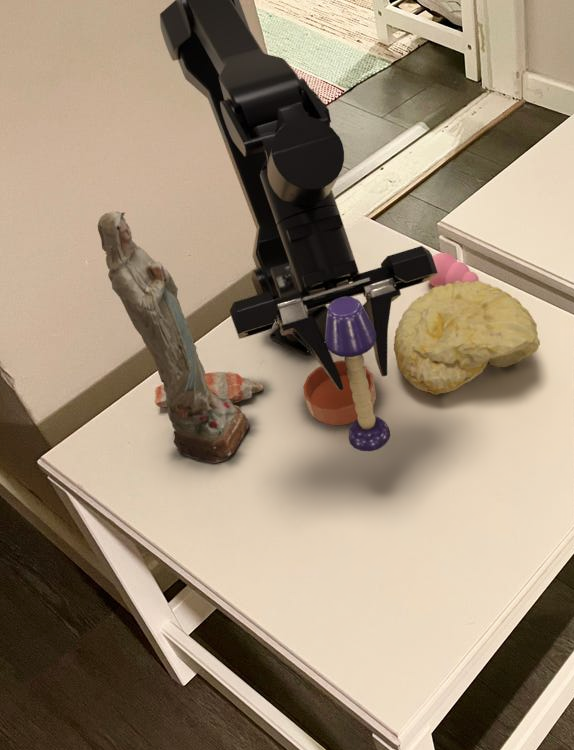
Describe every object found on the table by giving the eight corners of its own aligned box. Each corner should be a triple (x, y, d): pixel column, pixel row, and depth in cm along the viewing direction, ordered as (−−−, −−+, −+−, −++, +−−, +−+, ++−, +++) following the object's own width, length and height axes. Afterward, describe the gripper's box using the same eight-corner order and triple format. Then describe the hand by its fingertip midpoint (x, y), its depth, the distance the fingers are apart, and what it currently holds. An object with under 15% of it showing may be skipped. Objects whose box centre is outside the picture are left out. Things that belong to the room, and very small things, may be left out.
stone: (150, 405, 104) (155, 372, 107) (157, 418, 106) (162, 385, 109) (256, 396, 104) (259, 363, 107) (262, 409, 106) (264, 377, 109)
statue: (227, 467, 100) (133, 239, 77) (169, 456, 102) (58, 229, 78) (255, 419, 104) (174, 189, 81) (199, 409, 106) (103, 181, 83)
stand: (294, 408, 105) (289, 393, 103) (337, 367, 109) (333, 352, 107) (347, 434, 102) (343, 419, 100) (389, 391, 106) (386, 375, 104)
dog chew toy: (432, 244, 114) (480, 267, 112) (443, 252, 118) (490, 274, 117) (417, 277, 115) (465, 300, 113) (429, 284, 119) (475, 306, 117)
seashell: (443, 330, 116) (368, 380, 106) (448, 252, 109) (368, 297, 99) (556, 377, 109) (487, 435, 99) (568, 297, 102) (495, 351, 92)
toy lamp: (341, 425, 92) (310, 299, 79) (383, 410, 93) (359, 282, 80) (357, 458, 90) (328, 332, 76) (400, 441, 91) (379, 314, 77)
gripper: (391, 208, 91) (439, 357, 94) (210, 261, 88) (265, 414, 90) (410, 181, 80) (463, 350, 83) (204, 239, 77) (266, 414, 79)
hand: (363, 382), depth 84 cm, fingers closed on toy lamp, 4 cm apart
